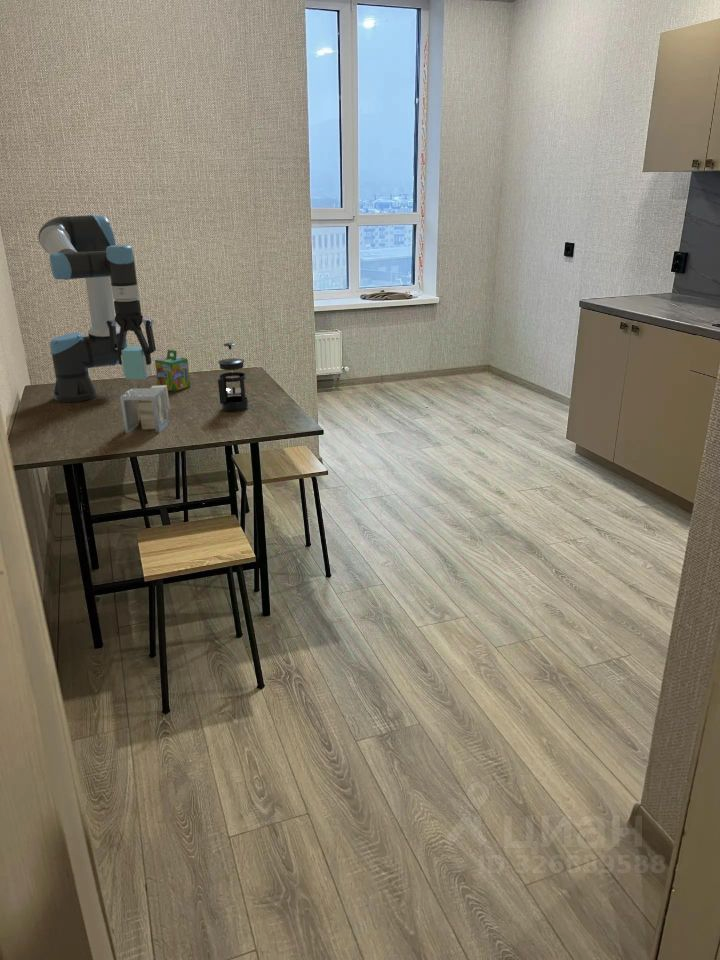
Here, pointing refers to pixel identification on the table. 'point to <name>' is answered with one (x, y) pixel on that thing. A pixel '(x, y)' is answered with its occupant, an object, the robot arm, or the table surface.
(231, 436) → the table surface
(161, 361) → the chalk box
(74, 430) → the table surface
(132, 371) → the block
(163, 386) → the bar
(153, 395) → the grey open box
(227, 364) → the french press
